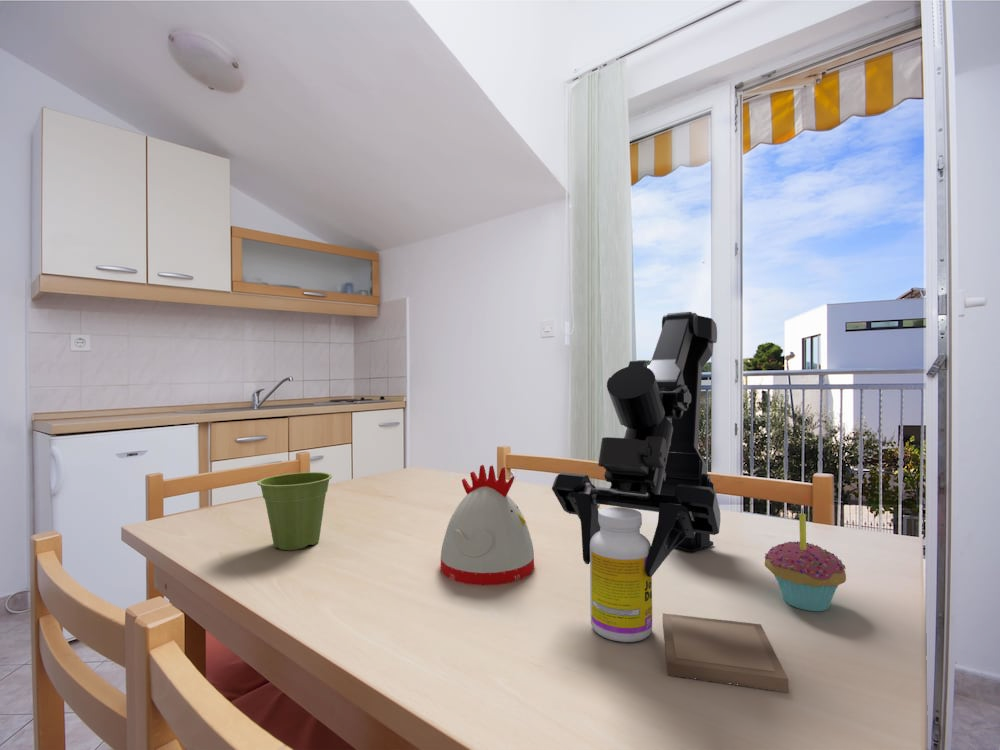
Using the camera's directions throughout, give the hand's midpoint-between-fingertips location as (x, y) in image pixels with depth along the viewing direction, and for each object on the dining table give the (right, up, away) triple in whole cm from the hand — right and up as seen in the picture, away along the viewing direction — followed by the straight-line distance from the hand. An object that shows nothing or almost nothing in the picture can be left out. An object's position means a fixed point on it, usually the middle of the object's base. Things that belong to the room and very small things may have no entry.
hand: (615, 568), depth 53 cm
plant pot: (-47, -8, +31) cm, 57 cm away
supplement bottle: (+1, -7, +1) cm, 7 cm away
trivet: (+9, -7, -4) cm, 12 cm away
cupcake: (+25, -7, +7) cm, 27 cm away
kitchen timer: (-14, -8, +20) cm, 26 cm away
